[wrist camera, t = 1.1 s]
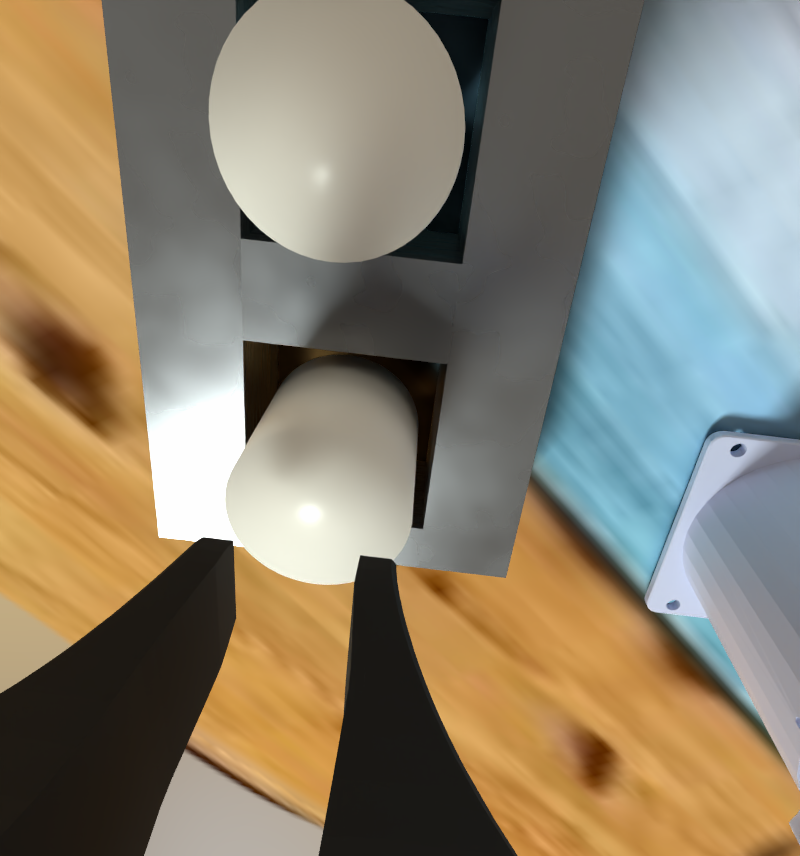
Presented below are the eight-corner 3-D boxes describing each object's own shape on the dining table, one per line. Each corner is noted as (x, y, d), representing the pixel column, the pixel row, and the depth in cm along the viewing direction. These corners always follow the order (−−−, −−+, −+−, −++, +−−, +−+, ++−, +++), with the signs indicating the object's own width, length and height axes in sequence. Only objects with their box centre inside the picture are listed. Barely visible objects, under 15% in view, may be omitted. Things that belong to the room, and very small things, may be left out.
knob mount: (726, -578, 11) (858, -894, 8) (495, 504, 23) (505, 577, 19) (135, -644, 11) (-5, -990, 8) (202, 470, 23) (159, 537, 19)
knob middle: (471, 26, 13) (485, -9, 9) (444, 232, 15) (446, 275, 11) (272, 3, 13) (202, -41, 9) (272, 212, 15) (214, 248, 11)
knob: (426, 364, 17) (423, 441, 13) (410, 493, 19) (402, 594, 15) (271, 345, 17) (221, 417, 13) (271, 477, 19) (227, 573, 15)
